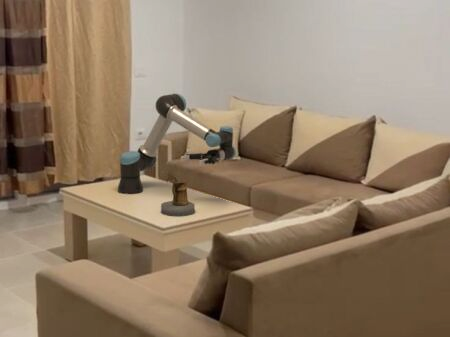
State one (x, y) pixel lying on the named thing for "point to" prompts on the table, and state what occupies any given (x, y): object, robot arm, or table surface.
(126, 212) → the table surface
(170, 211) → the charcoal plinth
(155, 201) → the table surface
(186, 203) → the wooden mug
